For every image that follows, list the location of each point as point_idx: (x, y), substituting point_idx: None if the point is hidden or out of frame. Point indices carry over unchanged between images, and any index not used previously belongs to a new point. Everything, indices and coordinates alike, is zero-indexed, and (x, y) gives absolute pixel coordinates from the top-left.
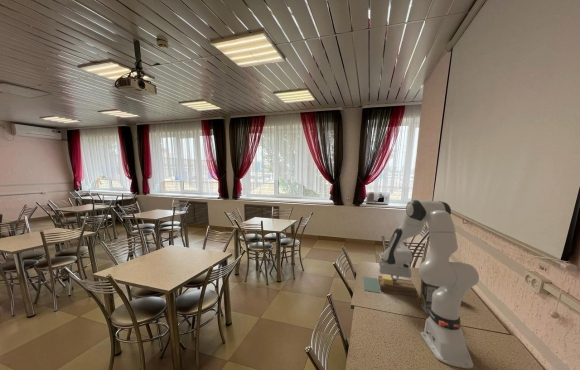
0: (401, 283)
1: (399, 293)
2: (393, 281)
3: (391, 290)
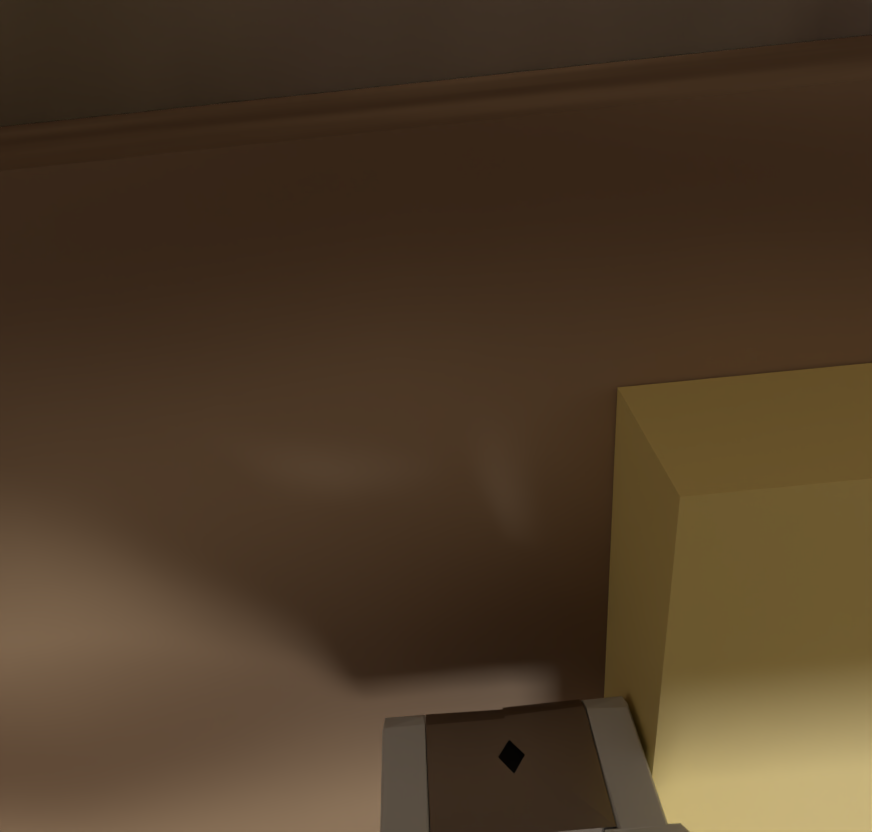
0: (161, 718)
1: (267, 105)
2: None
3: (675, 65)
